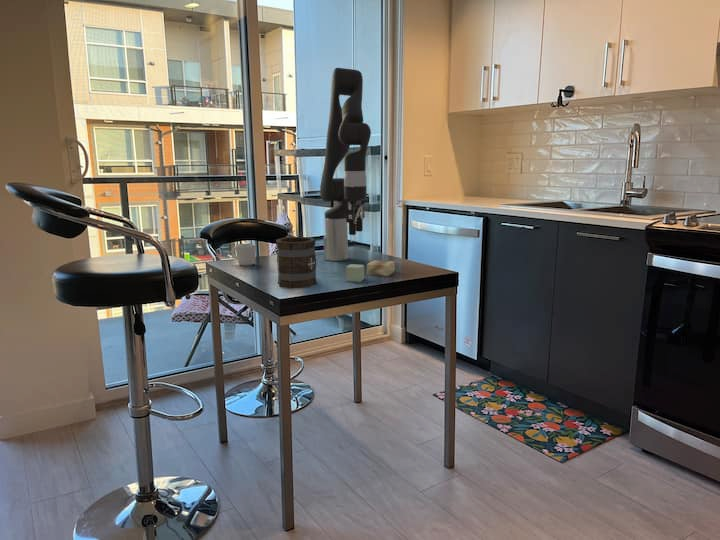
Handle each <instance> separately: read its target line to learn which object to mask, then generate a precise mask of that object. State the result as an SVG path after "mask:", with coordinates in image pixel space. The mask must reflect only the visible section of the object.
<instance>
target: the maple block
mask: <svg viewBox="0 0 720 540" xmlns="http://www.w3.org/2000/svg"><path fill="white" fill-rule="evenodd" d="M395 266H396V263H395V261H394V260H393V261H392V260H376V259H374V260H372V261H370V262H368V263H366V275H373V276H374V275H375V276H385V277H388V276H390V275H392V274H393V273H394V272H396V271H395V269H396V268H395Z"/></svg>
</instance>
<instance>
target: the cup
mask: <svg viewBox="0 0 720 540" xmlns="http://www.w3.org/2000/svg"><path fill="white" fill-rule="evenodd" d="M256 250H257V245H256V244H255V243H239V244H236V245H235V246H234V247H232V248H231V250H230V253H231V256H232V258H233V259H236V260H237V263H238V265H239V266H243V267H247V266H252V265H254V264H255V263H256V254H257V251H256ZM235 253H236V255H235Z"/></svg>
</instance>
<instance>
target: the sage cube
mask: <svg viewBox="0 0 720 540" xmlns="http://www.w3.org/2000/svg"><path fill="white" fill-rule="evenodd" d="M345 268H346V269H345V272H346V273H345V275H346V276H345V277H346V279H345V280H346V282H355V283H357V282H358V283H360V282H362V281H363V280H364V279H365V265H364V264H355V263H354V264H352V263H350V264H348V265H347V266H346V267H345Z"/></svg>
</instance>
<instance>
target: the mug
mask: <svg viewBox="0 0 720 540" xmlns="http://www.w3.org/2000/svg"><path fill="white" fill-rule="evenodd" d="M275 241H276V243H275V244H276V251H277V252H276V253H277V256H276V263H277V264H276V265H277V275H278V276H277V278H278V279H277V285H278V284H279V285H278V286H279V288H285V289H304V288H305V289H306V287H307V288H311V287H313V286H316V285H317V284H318V283H317V272H316V271H317V258H316V239H315V238H314V237H309V236H308V237H307V236H291V237H290V236H288V237H287V236H286V237H282V238H278V239H275ZM310 286H311V287H310Z"/></svg>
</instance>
